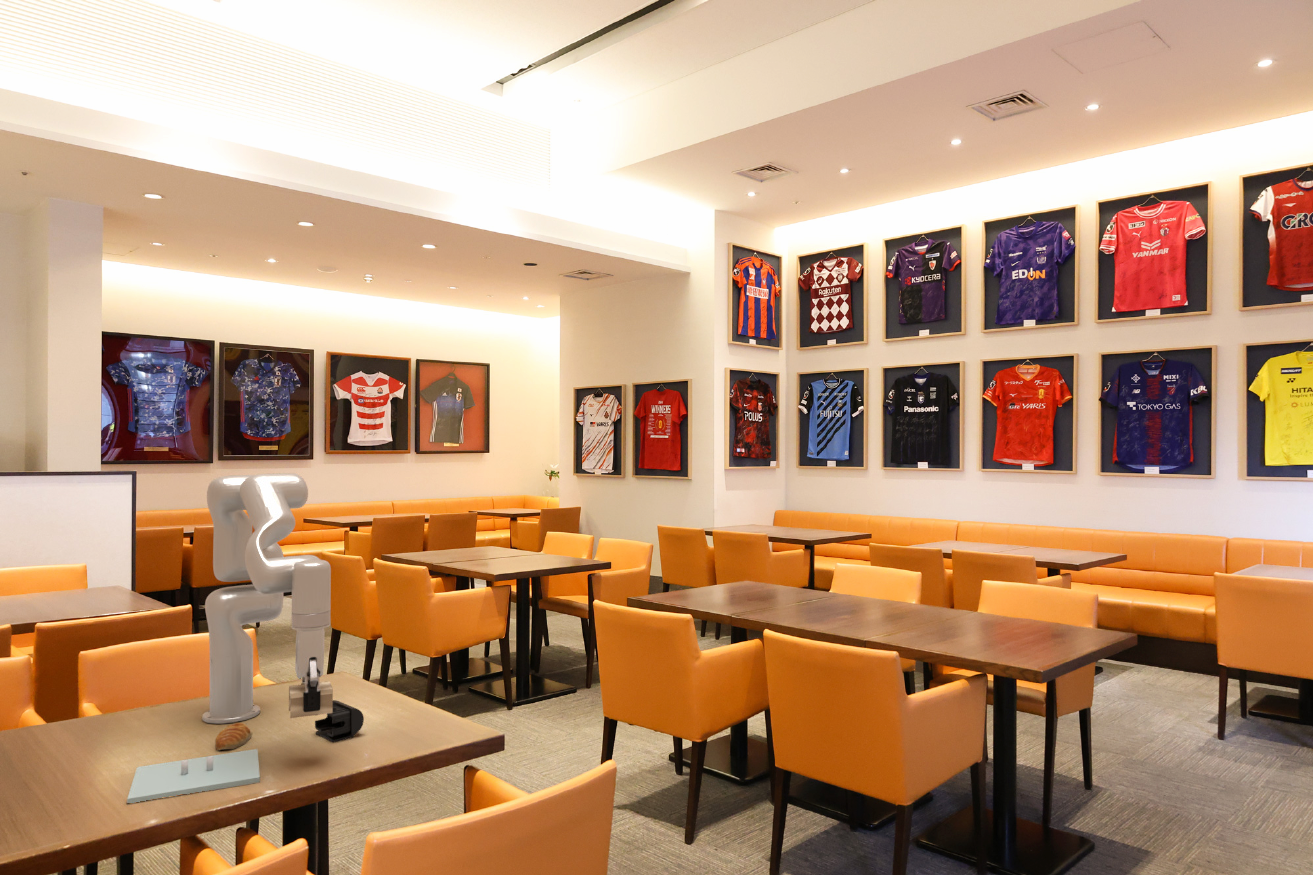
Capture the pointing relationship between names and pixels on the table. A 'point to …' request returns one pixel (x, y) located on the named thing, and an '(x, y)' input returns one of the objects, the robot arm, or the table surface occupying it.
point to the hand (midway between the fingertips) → (310, 705)
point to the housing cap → (297, 700)
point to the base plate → (194, 775)
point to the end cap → (340, 723)
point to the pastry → (233, 736)
